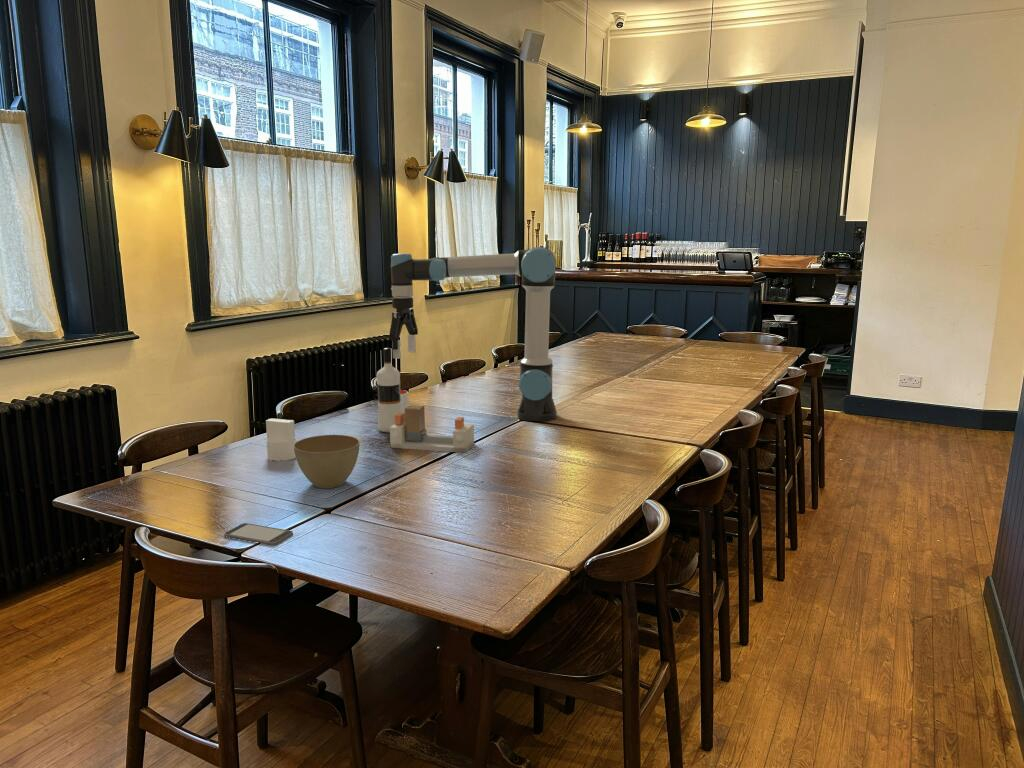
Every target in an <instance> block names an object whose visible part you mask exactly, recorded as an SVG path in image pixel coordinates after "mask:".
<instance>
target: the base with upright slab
mask: <svg viewBox="0 0 1024 768" xmlns="http://www.w3.org/2000/svg"><path fill="white" fill-rule="evenodd" d="M265 428H266V450H267V451H266V452H267V459H268V460H269V459H270V460H269V461H272V460H276V461H275V462H281V461H280V460H285V461H290V460H293V459H296V456H295V452H294V444H295V443H296V442H297V439H296V429H295V420H293V419H284V418H283V419H282V418H268V419H266V420H265ZM289 459H290V460H289Z"/></svg>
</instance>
